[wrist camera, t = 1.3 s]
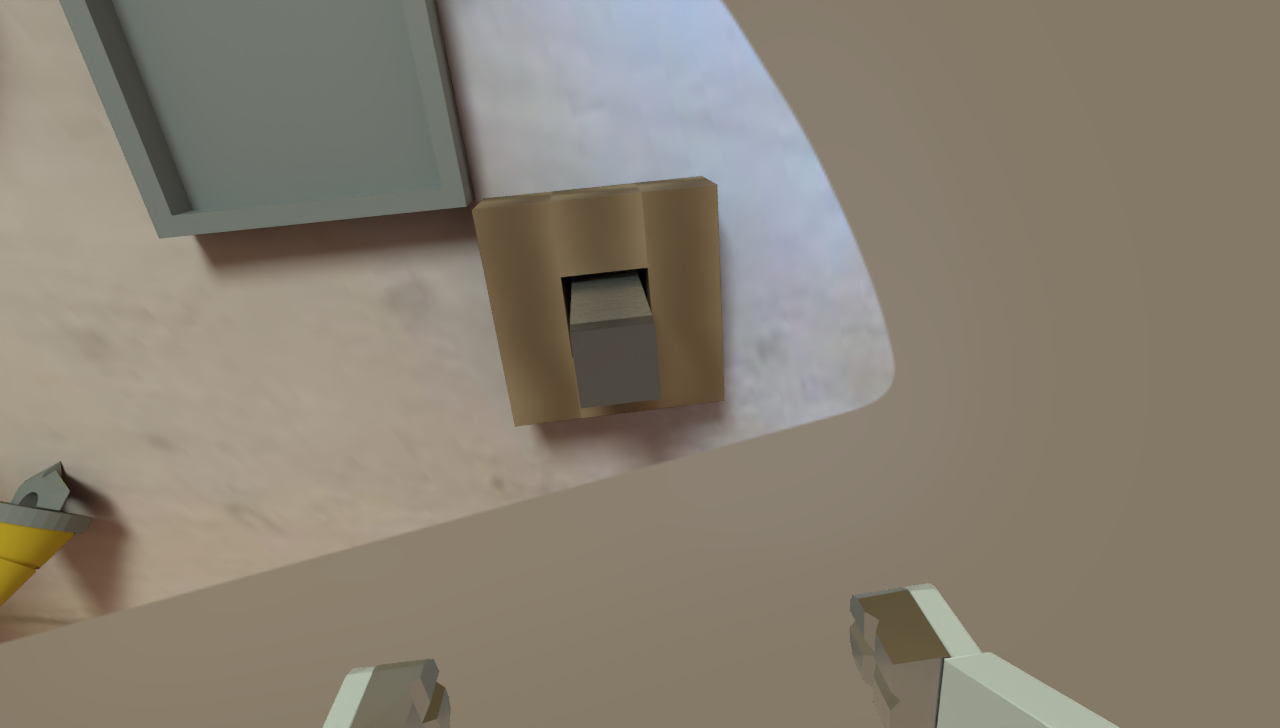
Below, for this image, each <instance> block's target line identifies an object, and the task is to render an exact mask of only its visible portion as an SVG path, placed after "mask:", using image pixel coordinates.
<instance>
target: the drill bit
mask: <svg viewBox="0 0 1280 728" xmlns="http://www.w3.org/2000/svg"><path fill="white" fill-rule="evenodd" d="M61 476H62V474H61V461H60V462H58V463H57V464H55V465H53V466H51V467H49V468H48V469H46V470H44V471H42V472H40V473H39V474H37V475H35V476H33V477H31V478H29V479H28V480H26V481H25V482H24V483H23V484H22V485H21V486H20V487H19V488H18V490H17V492H16V494H15V495H14V497H13V499H12V501H11V503H7V502H1V501H0V606H1V605H2V604H3V603H4V602H5V601H6V600H7V599H8V598H9V597H10V596H11V595H12V594H13V593H14V592H15V591H17V590H18V589H19V588H20V587H21V586H22V585H23V584H24V583H25V582H26V581H27V580H28V579H29V578H30V577H31V576H32V575H33V574H34V573H35V572H36V571H35V569H39V568H40V567H41V566H42V565H44V564H45V563H46V562H47V561H48V560H49V559H50V558H51V557H52V556H53V555H54V554H55V553H56V552H57V551H58V550H59V549H60V548H61V547H62V546H63V545H64V544H65V543H66V542H67V541H68V540H69V539H70V538H72V537H73V536H74V534H75V533H82V534H84V533H85V531H86V529H87V528H88V526H89V524H90V522H91V520H92V517H87V516H82V515H77V514H72V513H66V512H60V511H61V510H62V508H63V506H64V504H65V502H66V500H67V499H68V496H69V492H70V490H69V489H68V488H67V486H66V485H65V483H64V482H63V480H62V479H61ZM37 507H41V508H37ZM43 508H47V509H43ZM49 509H53V510H49ZM55 510H59V511H55Z"/></svg>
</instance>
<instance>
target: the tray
mask: <svg viewBox="0 0 1280 728" xmlns="http://www.w3.org/2000/svg"><path fill="white" fill-rule="evenodd" d="M59 1H60V3H61V6H62V8H63V11H64V13H65V15H66V18H67V20H68V22H69V25H70V27H71V30H72V32H73V34H74V37H75V39H76V41H77V44H78V46H79V49H80V51H81V53H82V56H83V58H84V60H85V63H86V65H87V68H88V70H89V72H90V75H91V77H92V80H93V82H94V84H95V87H96V89H97V91H98V94H99V96H100V99H101V101H102V103H103V106H104V108H105V110H106V113H107V115H108V118H109V120H110V122H111V125H112V127H113V130H114V132H115V134H116V137H117V139H118V141H119V144H120V146H121V149H122V151H123V153H124V156H125V158H126V160H127V163H128V165H129V168H130V170H131V172H132V175H133V177H134V179H135V182H136V184H137V187H138V189H139V191H140V194H141V196H142V199H143V201H144V203H145V206H146V208H147V210H148V213H149V215H150V218H151V220H152V222H153V225H154V227H155V229H156V232H157V234H158V237H159V238H169V237H179V236H188V235H198V234H207V233H217V232H227V231H236V230H246V229H256V228H265V227H275V226H285V225H294V224H304V223H314V222H323V221H333V220H342V219H352V218H362V217H371V216H381V215H391V214H400V213H410V212H420V211H429V210H439V209H449V208H458V207H467V206H468V205H469V204H470V203H471V202H473V201H474V200H475V198H474V193H473V188H472V183H471V178H470V173H469V168H468V163H467V158H466V153H465V148H464V142H463V137H462V132H461V127H460V122H459V117H458V112H457V107H456V102H455V97H454V92H453V87H452V81H451V76H450V71H449V66H448V61H447V56H446V51H445V46H444V41H443V36H442V31H441V26H440V20H439V15H438V10H437V5H436V0H59Z"/></svg>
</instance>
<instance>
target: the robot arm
mask: <svg viewBox="0 0 1280 728" xmlns="http://www.w3.org/2000/svg"><path fill="white" fill-rule="evenodd" d="M850 611H851V613H852V615H853V617H854V619H855V622H854V623H853V624H852V625H851V626H850V643H851V647H852V653H853V657H854V660H855V662H856V665H857V668H858V670H859V672H860V675H861V677H862V679H863V680H864V681H865V682H867V683H868V684H870V685H871V686H872V687H873V703H874V705H875V707H876V709H877V711H878V713H879V716H880V718H881V720H882V722H883V724H884V726H885V728H1119V727H1117V726H1116V725H1114V724H1112V723H1111V722H1109V721H1107V720H1105V719H1104V718H1102V717H1100V716H1099V715H1097V714H1095V713H1093V712H1091V711H1090V710H1088V709H1087V708H1085V707H1083V706H1082V705H1080V704H1078V703H1077V702H1075V701H1073V700H1071V699H1070V698H1068V697H1066V696H1065V695H1063V694H1061V693H1059V692H1057V691H1056V690H1054V689H1053V688H1051V687H1049V686H1048V685H1046V684H1044V683H1042V682H1041V681H1039V680H1037V679H1036V678H1034V677H1032V676H1030V675H1029V674H1027V673H1025V672H1024V671H1022V670H1020V669H1019V668H1017V667H1015V666H1013V665H1012V664H1010V663H1008V662H1007V661H1005V660H1003V659H1001V658H1000V657H998V656H996V655H995V654H993V653H991V652H986V653H982V652H981V650H980V649H979V648H978V646H977V645H976V643H975V642H974V641H973V639H972V638H971V636H970V635H969V634H968V632H967V631H966V629H965V628H964V627H963V625H962V624H961V623H960V621H959V620H958V618H957V617H956V616H955V614H954V613H953V611H952V610H951V609H950V607H949V606H948V604H947V603H946V602H945V600H944V599H943V597H942V596H941V595H940V593H939V592H938V591H937V589H936V588H935V587H934V586H933V585H931V584H930V583H928V584H922V585H915V586H909V587H904V588H894V589H888V590H882V591H876V592H869V593H863V594H857V595H852V598H851V600H850ZM438 674H439V670H438V668H437V665H436V663H435V661H434V659H425V660H416V661H407V662H399V663H391V664H383V665H378V666H369V667H362V668H354V669H352V671H350V672H349V673H348V675H347V676H346V677H345V679H344V682H343V684H342V686H341V688H340V690H339V693H338V695H337V697H336V699H335V701H334V703H333V706H332V708H331V710H330V712H329V714H328V717H327V719H326V721H325V723H324V725H323V728H449V726H450V703H449V696H448V694H447V691H446V688H445V687H444V686H442V685H441V684H439V683H437V682H436V681H437V677H438Z"/></svg>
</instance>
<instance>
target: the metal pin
mask: <svg viewBox="0 0 1280 728" xmlns="http://www.w3.org/2000/svg"><path fill="white" fill-rule="evenodd" d="M570 339H571V346H572V353H573V359H574V366H575V373H576V380H577V387H578V394H579V401H580V407H581V409H582V408H590V407H598V406H606V405H615V404H623V403H631V402H639V401H647V400H655V399H661V390H660V378H659V365H658V353H657V341H656V329H655V321H654V319H653V316H652V313H651V310H650V307H649V305H648V302H647V299H646V296H645V293H644V290H643V288H642V285H641V282H640V279H639V276H638V273H637V271H636V269H630V270H621V271H612V272H603V273H594V274H585V275H576V276H572V289H571V312H570Z"/></svg>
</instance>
